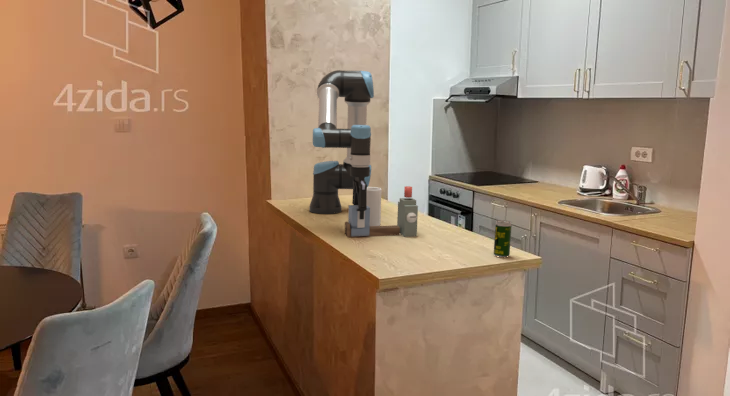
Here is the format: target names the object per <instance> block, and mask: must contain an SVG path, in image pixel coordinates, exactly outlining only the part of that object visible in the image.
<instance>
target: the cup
mask: <svg viewBox="0 0 730 396" xmlns="http://www.w3.org/2000/svg"><path fill="white" fill-rule="evenodd" d="M367 206H368V207H370V226H381V220H382V219H381V218H382V217H381V215H382V212H381V211H382V188H381V187H377V186H368V187H367Z"/></svg>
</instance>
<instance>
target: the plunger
mask: <svg viewBox="0 0 730 396" xmlns="http://www.w3.org/2000/svg"><path fill="white" fill-rule="evenodd" d="M403 195H404V196H403V198H413V186H410V185H408V186H407V185H406V186H404V193H403Z"/></svg>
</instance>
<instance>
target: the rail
mask: <svg viewBox="0 0 730 396" xmlns="http://www.w3.org/2000/svg"><path fill="white" fill-rule="evenodd" d="M344 235H345V237H347V238H350V237H351V238H352V237H353V238H355V237H358V236H351V228H350V224H349V223H348V221H344ZM382 236H385V237H387V236H401V234H400V227H399V226H397V224H396V225H394V224H393V225H380V226H370V231H369V236H368V237H382Z"/></svg>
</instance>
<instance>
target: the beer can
mask: <svg viewBox="0 0 730 396" xmlns="http://www.w3.org/2000/svg"><path fill="white" fill-rule="evenodd" d="M494 225H495V226H494V240H493V242H494V243H493V255H495V256H499V257H507V256H509V257H510V253H511V241H512V240H511V239H512V236H511V235H512V222H511V221H510V220H504V219H503V220H501V219H500V220H496V221H495V224H494ZM495 256H494V257H495ZM499 257H498V258H499ZM507 258H508V257H507Z"/></svg>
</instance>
